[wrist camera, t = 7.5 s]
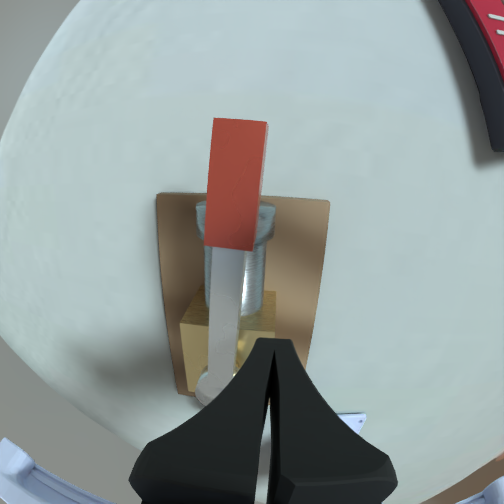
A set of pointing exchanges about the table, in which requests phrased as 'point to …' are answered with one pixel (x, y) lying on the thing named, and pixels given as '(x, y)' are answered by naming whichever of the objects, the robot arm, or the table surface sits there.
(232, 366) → the lever
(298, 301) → the board
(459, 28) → the calculator
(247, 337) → the valve
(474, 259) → the table surface
